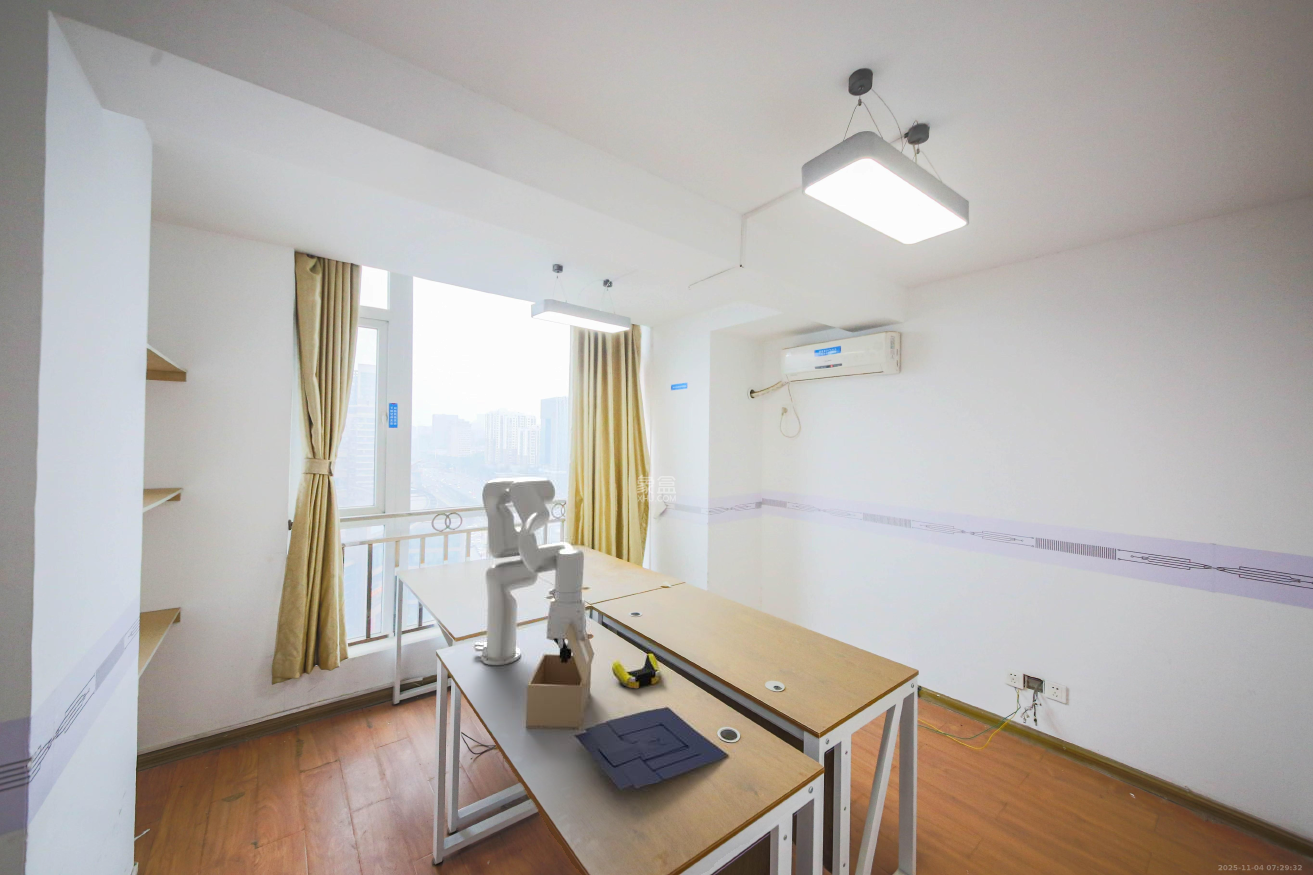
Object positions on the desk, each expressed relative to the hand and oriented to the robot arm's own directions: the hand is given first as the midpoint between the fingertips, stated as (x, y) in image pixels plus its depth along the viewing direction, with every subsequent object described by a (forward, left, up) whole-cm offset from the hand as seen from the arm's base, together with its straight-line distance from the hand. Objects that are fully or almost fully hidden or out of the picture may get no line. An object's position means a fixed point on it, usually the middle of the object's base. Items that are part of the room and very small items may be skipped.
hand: (565, 660), depth 128 cm
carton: (-1, 0, -13) cm, 13 cm away
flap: (+4, 0, +5) cm, 6 cm away
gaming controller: (+20, +16, -14) cm, 29 cm away
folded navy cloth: (+24, -16, -14) cm, 32 cm away
